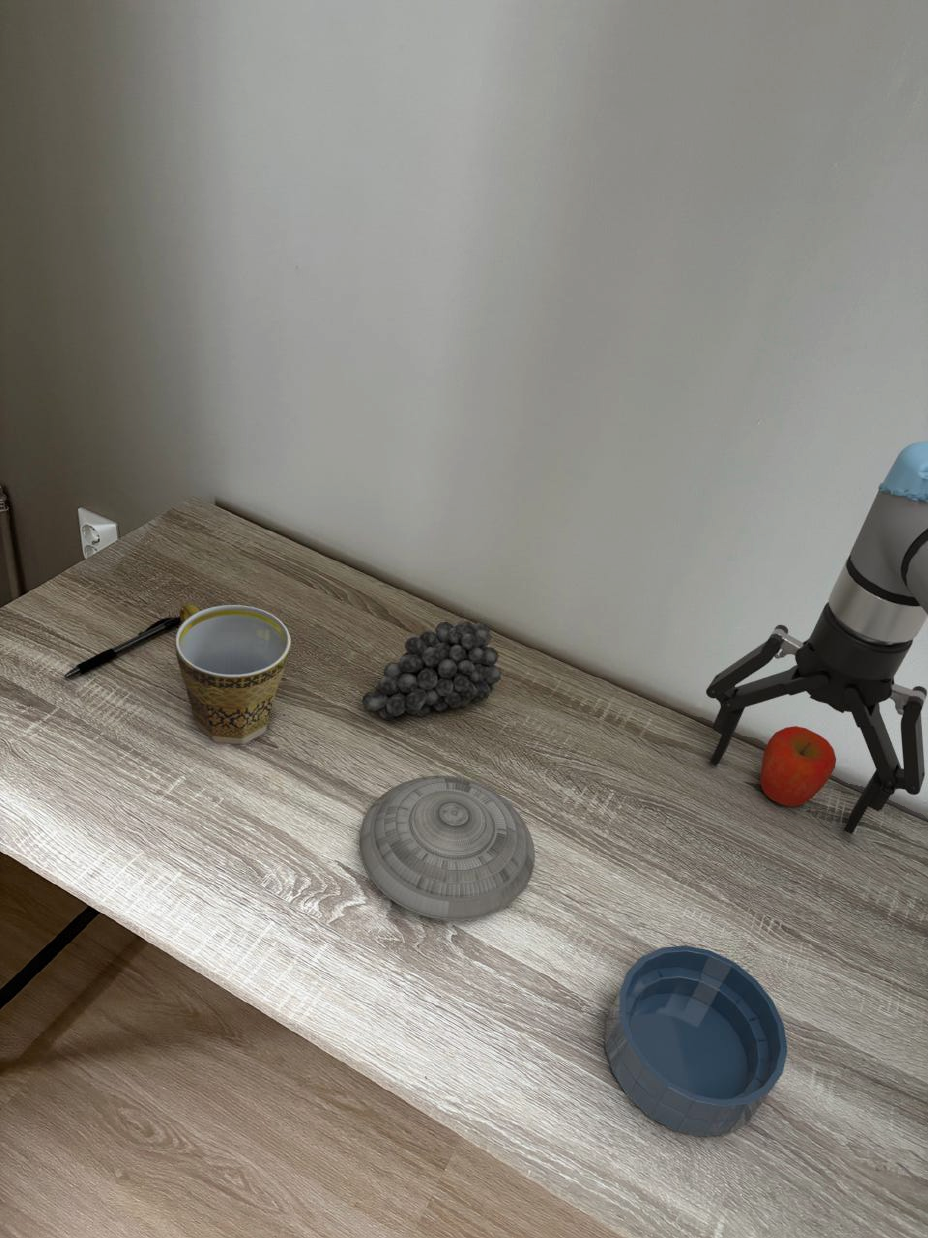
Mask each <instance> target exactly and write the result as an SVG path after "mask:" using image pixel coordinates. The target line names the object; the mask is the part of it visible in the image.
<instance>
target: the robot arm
mask: <svg viewBox="0 0 928 1238" xmlns="http://www.w3.org/2000/svg"><path fill="white" fill-rule="evenodd" d="M927 620H928V440H923V441H916V442H913V443H910V444H908V445H906V446H905V447H904V448H902V450H901V451H899V453H898V455H897V457H896V458H895V459H894V462H893V464H892V466H891V467H890V469H889V471H888V473H887V474H886V476H885V478H884V480H883V482H880V484H879V485H878V491H877V493H876V496H875V497H874V500H873V501H872V504H871V505H870V509H869V510H868V512H867V515H866V517H865V520H864V522H863V524H862V526H861V528H860V531H859V533H858V535H857V537H856V540H855V541H854V544H853V546H852V548H851V550H850V553H849V555H848V557H847V559H846V560H845V562H844V564H843V566H842V569H841V570H840V572H839V574H838V577H837V578H836V581H835V583H834V584H833V587H832V589H831V592H830V593H829V596H828V601H827V602H826V604H824V607H823V608H822V611H821V613H820V615H819V617H818V619H817V621H816V623H815V626H814V627H813V630H812V632H811V634H810V636H809V638H808V639H806V640H805V641H800V640H799V639H797V638H795V637H794V636H792V635H790V634H789V629H788V627H787V626H786V625H785V624H777V625H776V626H775V627H774V628H773V630H772V632H771V633H770V636H769V637H768V639H767V640H766V641H765V642H763V643H761V644H759V646H757V647H756V648H754V649H753V650H751V651H750V652H748V653H747V654H745V655H744V656H742V657H741V658H739V659H738V660H736V661H735V662H734V663H732V664H731V665H729V666H728V667H726V668H725V669H723V670H722V671H720V672H719V673H718V674H716V675H715V676H714V678H713V679H712V681H711V682H710V683H709V685H708V686H707V688H706V690H705V694H706V695H707V697H708V698H709V699H715V700H716V701H718V703H719V705H720V708H719V711H718V713H717V714H716V717H715V720H714V722H713V724H712V731H713V732H715V733H718V734H720V735H721V736H720V738H719V741H718V743H717V745H716V748H715V749H714V752H713V754H712V757H711V759H710V761H709V763H710V764H711V765H714V766H716V767H718V765H719V763H720V762H721V760H722V758H723V757H724V755H725V753H726V751H727V749H728V746H729V745H730V742H731V740H732V738H733V736H734V734H735V731H736V729H737V726H738V724H739V722H740V720H741V718H742V715H743V713H744V711H745V708H748V707H751V706H755V705H757V704H761V703H764V702H768V701H770V700H774V699H777V698H781V697H783V696H787V695H789V697H791V696H795V695H797V694H802V693H807V694H808V695H809V699H811V700H814V701H816V702H818V703H822V704H825V705H828V706H829V707H831V708H832V709H833V710H835V711H837V712H839V713H841V714H844V713H845V712H847V713H851V715H852V717H853V720H854V723H855V725H856V727H857V728H859V729H860V731H861V734H862V737H863V739H864V742H865V745H866V746H867V749H868V752H869V755H870V757H871V760H872V763H873V764H874V767H875V771H874V772H873V774H872V775H871V778H870V779H869V781H868V783H867V784H866V786H865V787H864V789H863V791H862V792H861V794H860V796H859V798H857V799H858V800H857V801H856V803H855V804H854V806H853V808H852V810H851V811H850V813H849V815H848V818H847V820H846V824H845V826H844V829H843V831H844V832H846V833H847V834H849V835H853V833H854V832H855V830H856V828H857V826H858V825H859V823H860V821H861V820H862V818H863V816H864V815H865V813H866V812H867V810H868V808H870V809H872V810H874V811H875V812H880V811H881V810H883V809H884V807H885V806H886V804H887V803H888V800H889V799H890V797H891V796H893V795H894V794H895V792H896V790H904V791H906V793H907V794H909V795H912V796H916V795H919V794H920V792H921V789H922V786H923V783H924V780H925V775H926V771H925V754H924V753H925V752H924V740H923V725H922V723H923V722H922V710H923V707H924V704H925V703H926V702H925V701H926V698H927V696H928V690H927V689H926V688H925V687H924V686H922V685H917V686H914V687H913V688H912V689H911V688H908V687H905V686H902V685H899V684H897V683H895V676H896V674H897V673H898V671H899V668H900V667H901V665H902V663H903V661H904V660H905V658H906V656H907V654H908V653H909V651H910V649H911V647H912V646H913V643H914V639H915V638H917V636H918V635H919V633H920V632H921V630H922V628H923V626H924V624H925V622H926V621H927ZM787 655H793V656H794V660H795V663H796V665H793V666H792V667H790V668H789V669H786V670H784V671H781V672H778V673H775V674H771V675H768V676H765V677H762V678H759V679H755V680H753V681H750V682H747V683H744V684H742V685H738V684H740V683H742V682H743V681H744V680H745V679H747V678H749V677H750V676H751V675H754V674H755V673H756V672H758V671H759V670H761V669H762V668H764V667H765V666H766V665H768V664H769V663H770V662H771V661H772V660H773V659H774V658H775V659H777V660H779V659H782V658H785V657H786V656H787ZM736 685H738V686H736ZM889 699H890V700H892V701H893V703H894V708H895V709H894V710H896V713H897V715H900V716H901V719H900V737H901V738H900V739H901V750H902V765H903V768H902V766H901V763H900V761H899V759H898V755H897V753H896V750H895V748H894V745H893V743H892V740H891V737H890V734H889V732H888V729H887V727H886V724H885V722H884V719H883V716H882V714H881V713H882V712H881V706H880V703H882V702H885V701H887V700H889Z"/></svg>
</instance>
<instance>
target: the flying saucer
mask: <svg viewBox="0 0 928 1238" xmlns="http://www.w3.org/2000/svg"><path fill="white" fill-rule="evenodd" d="M364 815H365V816H364V818H363V820H362V822H361V825H360V828H359V835H358V849H359V856H360V859H361V862H362V864H363V867H364V869H365V871H366V873H367V876H368V877H369V878H370V879H371V881H372V882H373V883H374V885H375V886H376V887H377V888H378V889H379V890H380V892H382V893H383V894H384V895H385V896H386V897H388V899H390V900H391V901H393V902H394V903H395V904H397V905H398V906H401V907H402V908H404V909H406V910H407V911H410V912H412V913H415V914H417V915H420V916H423V917H427V918H430V919H436V920H441V921H442V920H443V921H459V922H460V921H470V920H476V919H480V918H484V917H488V916H491V915H493V914H495V913H498V912H499V911H501V910H504V908H506V907H508V906H509V905H511V904H512V903H513V902H515V901H516V900H517V899H518V898H519V896H521V894H522V893H523V892H524V891H525V889H526V888H527V886H528V885H529V882H530V880H531V879H532V875H533V872H534V868H535V861H536V853H535V845H534V840H533V838H532V834H531V832H530V830H529V828H528V826H527V824H526V822H525V820H524V819H523V817H522V815H521V814H520V813H519V811H518V810H517V809H516V808H515V807H514V806H513V805H512V804H511V803H510V802H509V801H508V800H507V799H505V798H504V797H503V796H502V795H501V794H499V793H498V792H496V791H495V790H493V789H492V788H489V787H488V786H486V785H484V784H481V783H479V782H477V781H474V780H472V779H468V778H464V777H461V776H460V777H459V776H454V775H428V776H421V777H416V778H412V779H410V780H407V781H405V782H402V783H400V784H398V785H396V786H394V787H392V788H390V789H389V790H388V791H386V792H384V793H383V794H382V795H381V796H380V797H378V799H376V800H375V801H374V803H373V804H372V805H371V806H369V808H368V810H367V811H366V814H364Z"/></svg>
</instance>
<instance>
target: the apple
mask: <svg viewBox="0 0 928 1238" xmlns="http://www.w3.org/2000/svg"><path fill="white" fill-rule="evenodd" d="M836 763H837V756H836V753H835V749H834V748H833V746H832V745H831V743H830V742H829V741H828V739H826V738H825V737H824V736H822V735H820V734H818V733H816V732H814V731H812V730H810V729H808V728H806V727H802V726H797V725H794V726H787V727H785V728H781V729H780V730H778V731H776V732H774V733H773V735H772V736H771V737H770V738H769V739H768V742H767V744H766V746H765V748H764V751H763V756H762V760H761V768H760V787H761V789H762V791H763V793H764V795H765V796H766V797H768V799H771V800H772V801H774V802H775V803H778V804H780V805H783V806H786V807H791V808H792V807H798V806H800V805H803V804H805V803H807V802H808V801H810V800H811V799H812V798H814V797H815V796H816V795H817V794H818V793H819V792H820V790H822V789H823V787H824V786H825V785H826V784H827V782H828V781H829V780H830V777H831V776H832V774H833V772H834V770H835V769H836V765H837V764H836Z"/></svg>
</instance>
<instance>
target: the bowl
mask: <svg viewBox="0 0 928 1238" xmlns="http://www.w3.org/2000/svg"><path fill="white" fill-rule="evenodd" d="M612 1003H613V1004H612V1006H611V1008H610V1011H609V1013H608V1016H607V1019H606V1021H605V1034H604V1035H605V1037H604V1038H605V1039H604V1041H605V1042H604V1043H605V1044H604V1046H605V1047H604V1048H605V1051H606V1054H607V1058H608V1061H609V1065H610V1068H611V1071H612V1073H613V1075H614V1078H616V1080H617V1082H618V1083H619V1085H620V1087H621V1089H623V1091H624V1093H625V1094H626V1096H627V1097H628V1099H629V1100H631V1102H632V1103H634V1104H635V1105H636V1106H637V1107H638V1108H639V1109H640V1110H641V1111H642V1112H644V1114H646V1116H647V1117H649V1118H650V1119H652V1120H654V1121H656V1122H657V1123H659V1124H661V1125H663V1126H665V1127H667V1128H669V1129H671V1130H673V1131H675V1132H678V1133H683V1134H686V1135H687V1134H689V1135H692V1136H697V1137H712V1136H719V1135H720V1136H721V1135H727V1134H730V1133H732V1132H734V1131H736V1130H737V1129H739V1128H741V1127H743V1126H745V1125H746V1124H747V1123H749V1122H750V1121H751V1120H752V1118H753V1117H754V1116H755V1114H756V1113H757V1112H758V1110H759V1109H760V1107H761V1106H762V1104H763V1103H764V1102H765V1100H766V1098H767V1097H768V1096H769V1094H770V1093H771V1091H772V1090H773V1088H774V1087H775V1085H777V1082H778V1081H779V1080H780V1079H781V1077H782V1076H783V1074H784V1070H785V1065H786V1061H787V1056H788V1042H787V1037H786V1029H785V1024H784V1021H783V1020H782V1016H781V1015H780V1012H779V1011H778V1009H777V1006H776V1004H775V1002H774V1000H773V999H772V998H771V996H770V995H769V994H768V992H767V991H766V990H765V988H764V987H763V985H761V983H759V981H758V980H757V979H756V978H755V977H754V976H752V974H750V973H749V972H748V971H746V970H745V968H742V967H741V966H740V965H739V964H738V963H737V962H735V961H733V960H732V959H729V958H727V957H725V956H723V955H720V953H719V954H718V953H717V952H714V951H712V950H710V949H705V948H700V947H695V946H690V945H685V944H684V945H673V946H662V947H660V948H658V949H655V950H653V951H651V952H648V953H646V954H644V955H642V956H641V957H640V958H639V959H638V960H637V961H636V962H635V963H634V964H633V965H632V966H631V967H630V968H629V969H628V970H627V972H626V973H625V975H624V978H623V981H622V983H621V985H620V987H619V990H618V992H617V994H616V996H615V999H614V1001H613V1002H612Z"/></svg>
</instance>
